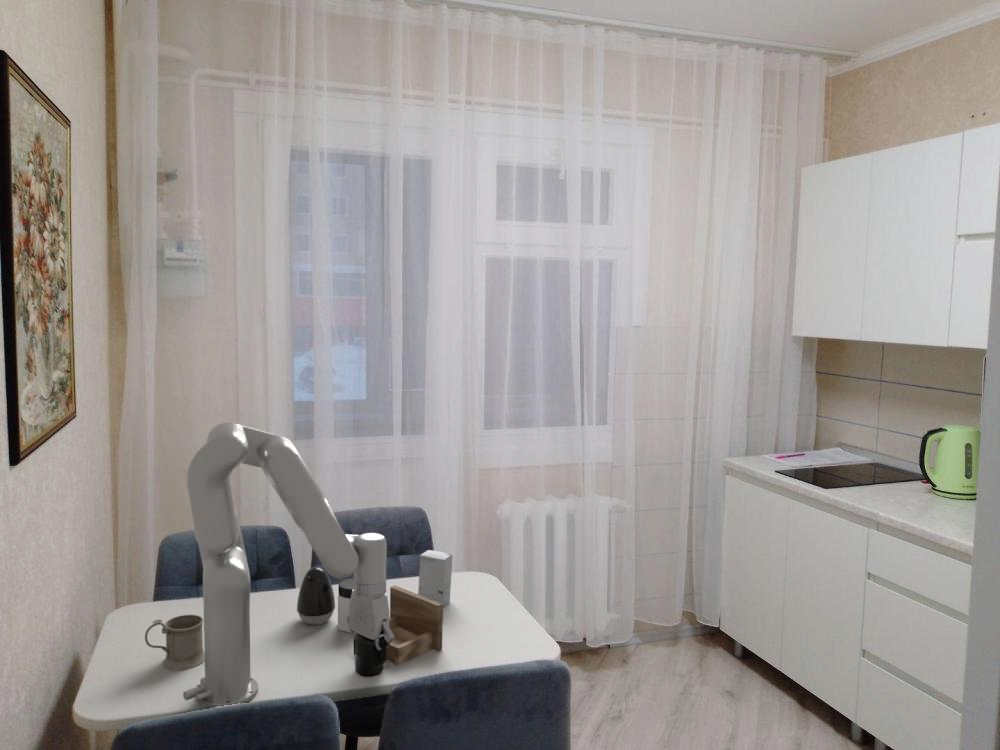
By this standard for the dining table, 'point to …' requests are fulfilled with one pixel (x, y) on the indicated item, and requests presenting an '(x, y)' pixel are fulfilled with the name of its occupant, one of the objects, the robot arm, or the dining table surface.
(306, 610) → the black aroma diffuser
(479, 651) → the dining table surface
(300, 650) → the dining table surface
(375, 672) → the supplement bottle
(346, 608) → the jar
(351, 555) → the robot arm
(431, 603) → the brown open boxy piece
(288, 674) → the dining table surface
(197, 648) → the mug
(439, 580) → the skincare box
